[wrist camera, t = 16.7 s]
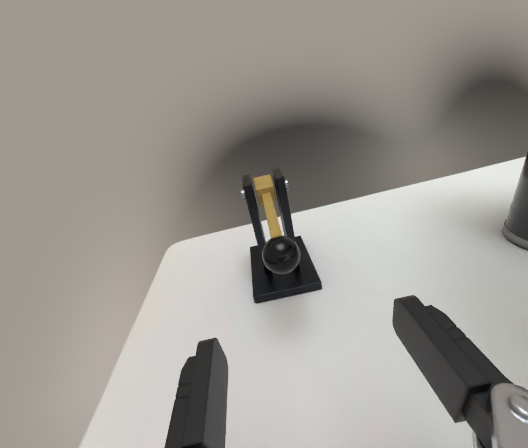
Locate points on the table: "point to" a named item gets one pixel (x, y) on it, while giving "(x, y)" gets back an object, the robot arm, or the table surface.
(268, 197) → the lever
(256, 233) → the lock bracket
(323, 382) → the table surface
